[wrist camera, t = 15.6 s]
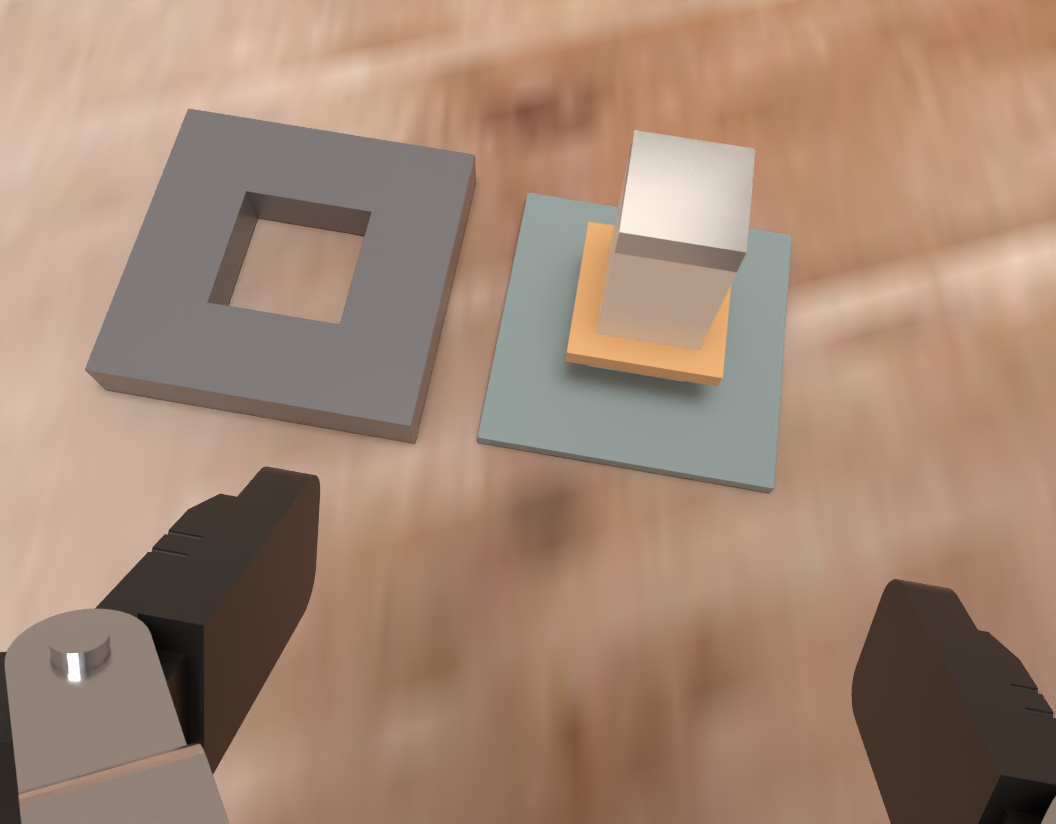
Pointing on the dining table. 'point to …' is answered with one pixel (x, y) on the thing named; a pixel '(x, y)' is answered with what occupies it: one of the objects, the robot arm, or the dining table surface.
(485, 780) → the dining table surface
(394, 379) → the socket box
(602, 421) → the mat
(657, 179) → the plug
